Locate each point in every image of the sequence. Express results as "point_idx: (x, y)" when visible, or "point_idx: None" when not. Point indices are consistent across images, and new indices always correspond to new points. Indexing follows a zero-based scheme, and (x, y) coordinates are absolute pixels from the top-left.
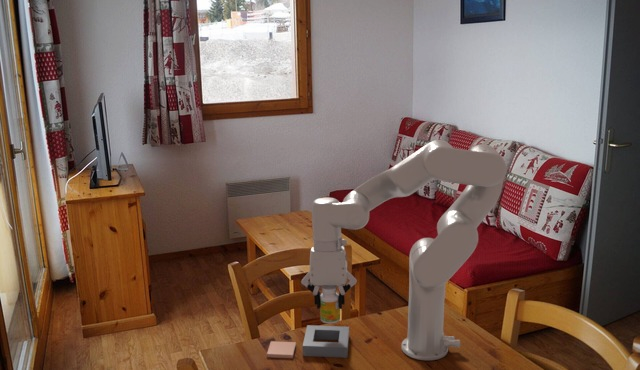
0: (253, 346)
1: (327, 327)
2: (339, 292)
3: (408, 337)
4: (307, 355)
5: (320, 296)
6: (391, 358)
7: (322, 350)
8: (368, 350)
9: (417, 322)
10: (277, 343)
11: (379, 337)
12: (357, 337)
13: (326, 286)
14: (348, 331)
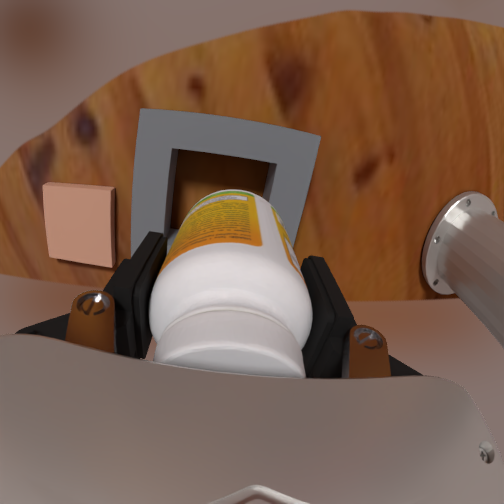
0: (15, 194)
1: (227, 131)
2: (323, 333)
3: (454, 266)
4: None
5: (154, 338)
6: (386, 276)
7: None
8: (347, 233)
9: (486, 326)
10: (60, 198)
11: (400, 160)
12: (336, 145)
13: None
14: (310, 177)
